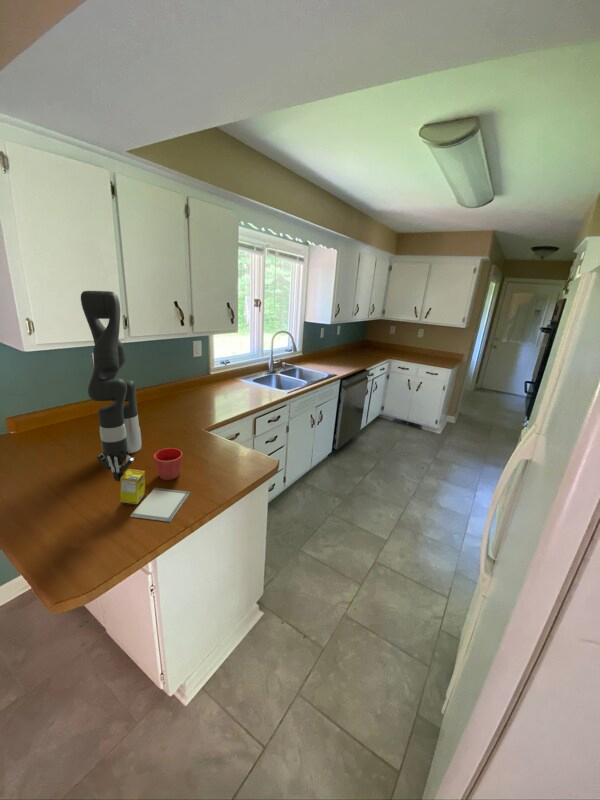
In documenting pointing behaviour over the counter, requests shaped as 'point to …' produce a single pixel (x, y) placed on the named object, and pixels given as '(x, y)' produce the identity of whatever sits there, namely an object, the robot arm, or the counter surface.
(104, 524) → the counter surface
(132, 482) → the supplement box
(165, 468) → the flower pot
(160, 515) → the mat
